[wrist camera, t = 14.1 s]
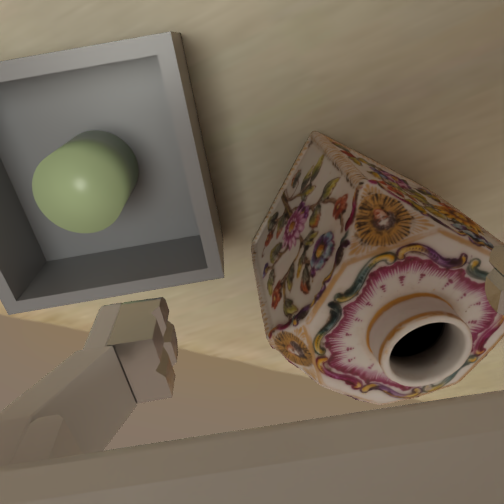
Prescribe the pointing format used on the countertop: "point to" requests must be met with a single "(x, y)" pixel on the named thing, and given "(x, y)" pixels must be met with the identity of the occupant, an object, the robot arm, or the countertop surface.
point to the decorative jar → (372, 278)
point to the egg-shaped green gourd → (86, 182)
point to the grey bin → (142, 196)
